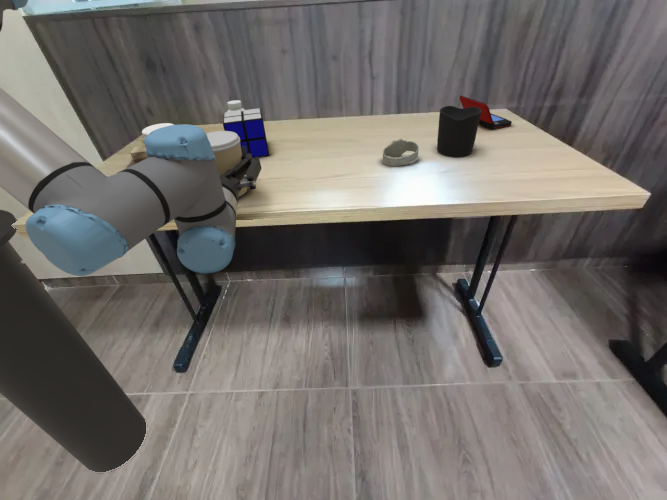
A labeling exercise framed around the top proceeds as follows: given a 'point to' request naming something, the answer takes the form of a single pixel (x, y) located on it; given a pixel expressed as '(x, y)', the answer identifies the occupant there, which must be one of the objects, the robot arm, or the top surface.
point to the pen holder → (457, 130)
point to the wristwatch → (400, 153)
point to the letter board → (138, 155)
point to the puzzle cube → (248, 130)
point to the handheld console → (485, 114)
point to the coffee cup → (226, 151)
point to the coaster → (154, 128)
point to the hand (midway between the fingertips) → (224, 154)
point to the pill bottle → (234, 106)
